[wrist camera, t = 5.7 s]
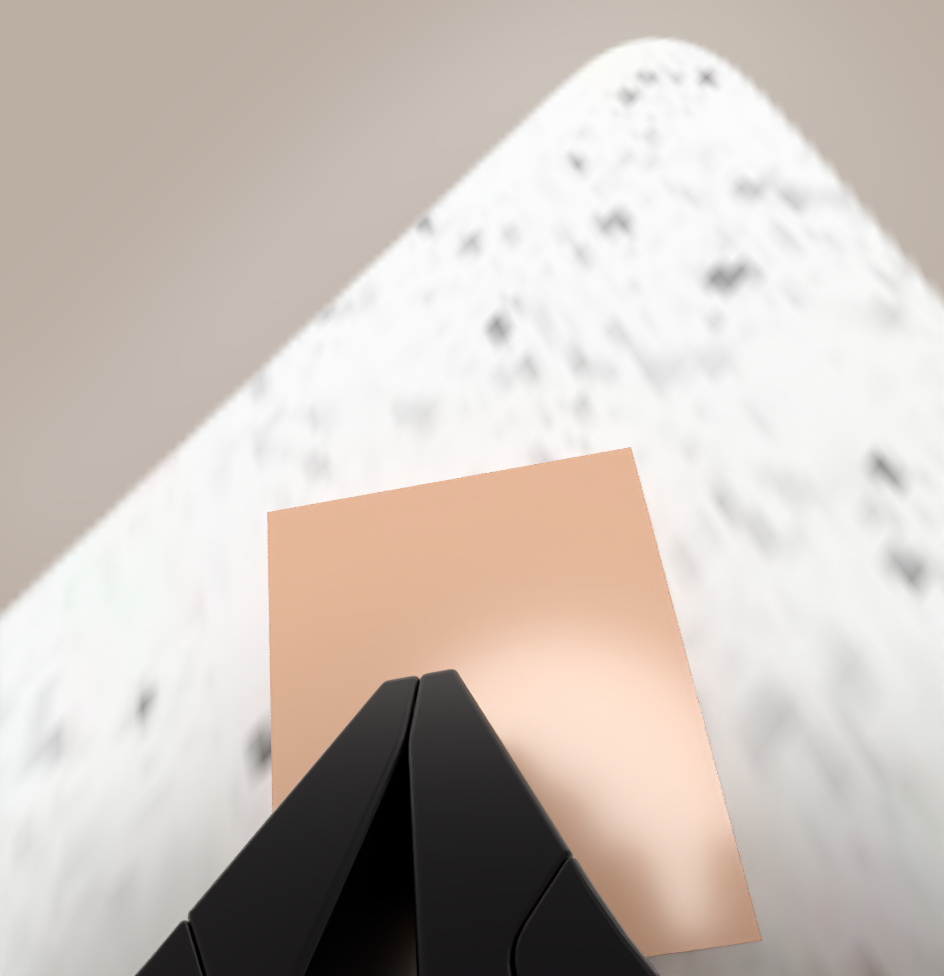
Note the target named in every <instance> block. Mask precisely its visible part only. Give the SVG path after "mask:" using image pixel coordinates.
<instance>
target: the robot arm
mask: <svg viewBox="0 0 944 976" xmlns="http://www.w3.org/2000/svg"><path fill="white" fill-rule="evenodd" d="M188 920H189V922H188V921H186V920H184V921H182V922H180V923H179V925H178V926H177V927H176V928H175V929H174V930H173V932H172V933H171V934H170V935H169V936H168V938H167V939H166V940H165V941H164V942H163V943H162V945H161V946H160V947H159V948H158V949H157V951H156V952H155V953H154V954H153V955H152V957H151V958H150V959H149V960H148V961H147V962H146V963H145V965H144V966H143V967H142V968H141V969H140V970H139V971H138V972H137V974H136V975H135V976H660V975H659V974H658V972H657V971H656V970H655V969H654V967H653V966H652V965H651V963H650V962H649V961H648V960H647V958H646V957H645V956H644V955H643V953H642V952H641V951H640V950H639V948H638V947H637V946H636V945H635V943H634V942H633V941H632V940H631V938H630V937H629V936H628V935H627V933H626V932H625V930H624V929H623V927H622V926H621V924H620V923H619V922H618V920H617V919H616V917H615V916H614V914H613V913H612V911H611V910H610V908H609V907H608V906H607V904H606V903H605V901H604V900H603V898H602V897H601V895H600V894H599V893H598V891H597V890H596V888H595V887H594V885H593V884H592V882H591V880H590V879H589V877H588V876H587V874H586V873H585V871H584V869H583V868H582V866H581V865H580V863H579V862H578V860H577V859H576V858H574V857H573V853H572V851H571V850H570V848H569V847H568V845H567V844H566V842H565V840H564V839H563V837H562V836H561V834H560V833H559V831H558V829H557V828H556V826H555V825H554V823H553V821H552V820H551V818H550V817H549V815H548V814H547V812H546V810H545V809H544V807H543V806H542V804H541V803H540V801H539V799H538V798H537V796H536V795H535V793H534V792H533V790H532V788H531V787H530V785H529V784H528V782H527V781H526V779H525V777H524V776H523V774H522V773H521V771H520V770H519V768H518V766H517V765H516V763H515V762H514V760H513V759H512V757H511V755H510V754H509V752H508V751H507V749H506V747H505V746H504V744H503V743H502V741H501V740H500V738H499V736H498V735H497V733H496V732H495V730H494V729H493V727H492V725H491V724H490V722H489V721H488V719H487V718H486V716H485V714H484V713H483V711H482V710H481V708H480V707H479V705H478V703H477V702H476V700H475V699H474V697H473V696H472V694H471V692H470V691H469V689H468V688H467V686H466V685H465V683H464V681H463V680H462V678H461V677H460V675H459V673H458V672H457V671H456V670H454V669H447V670H442V671H437V672H431V673H426V674H424V675H422V676H421V678H420V679H419V677H417V676H409V677H403V678H398V679H392V680H387V681H385V682H383V683H382V684H381V685H380V687H379V688H378V689H377V690H376V691H375V692H374V694H373V695H372V696H371V697H370V698H369V700H368V701H367V702H366V703H365V704H364V705H363V707H362V708H361V709H360V710H359V711H358V713H357V714H356V715H355V716H354V717H353V719H352V720H351V721H350V722H349V723H348V724H347V726H346V727H345V728H344V729H343V730H342V732H341V733H340V734H339V735H338V736H337V738H336V739H335V740H334V741H333V742H332V743H331V745H330V746H329V747H328V748H327V749H326V751H325V752H324V753H323V754H322V755H321V756H320V758H319V759H318V760H317V761H316V762H315V764H314V765H313V766H312V767H311V768H310V770H309V771H308V772H307V773H306V774H305V775H304V777H303V778H302V779H301V780H300V781H299V783H298V784H297V785H296V786H295V787H294V789H293V790H292V791H291V792H290V793H289V794H288V796H287V797H286V798H285V799H284V800H283V802H282V803H281V804H280V805H279V806H278V808H277V809H276V810H275V811H274V812H273V813H272V815H271V816H270V817H269V818H268V819H267V821H266V822H265V823H264V824H263V825H262V826H261V828H260V829H259V830H258V831H257V832H256V834H255V835H254V836H253V837H252V838H251V840H250V841H249V842H248V843H247V844H246V845H245V847H244V848H243V849H242V850H241V851H240V853H239V854H238V855H237V856H236V857H235V859H234V860H233V861H232V862H231V863H230V864H229V866H228V867H227V868H226V869H225V870H224V872H223V873H222V874H221V875H220V876H219V877H218V879H217V880H216V881H215V882H214V883H213V885H212V886H211V887H210V888H209V889H208V891H207V892H206V893H205V894H204V895H203V896H202V898H201V899H200V900H199V901H198V902H197V904H196V905H195V906H194V907H193V908H192V910H191V911H190V912H189V914H188Z"/></svg>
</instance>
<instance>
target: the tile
mask: <svg viewBox="0 0 944 976" xmlns="http://www.w3.org/2000/svg"><path fill="white" fill-rule="evenodd" d="M267 522H268V579H269V635H270V692H271V749H272V805H273V812H274V811H275V810H276V809H277V808H278V806H279V805H280V804H281V803H282V802H283V800H284V799H285V798H286V797H287V796H288V794H289V793H290V792H291V791H292V790H293V789H294V787H295V786H296V785H297V784H298V783H299V781H300V780H301V779H302V778H303V777H304V775H305V774H306V773H307V772H308V771H309V770H310V768H311V767H312V766H313V765H314V764H315V762H316V761H317V760H318V759H319V758H320V756H321V755H322V754H323V753H324V752H325V751H326V749H327V748H328V747H329V746H330V745H331V743H332V742H333V741H334V740H335V739H336V738H337V736H338V735H339V734H340V733H341V732H342V730H343V729H344V728H345V727H346V726H347V724H348V723H349V722H350V721H351V720H352V719H353V717H354V716H355V715H356V714H357V713H358V711H359V710H360V709H361V708H362V707H363V705H364V704H365V703H366V702H367V701H368V700H369V698H370V697H371V696H372V695H373V694H374V692H375V691H376V690H377V689H378V688H379V687H380V685H381V684H382V683H383V682H385V681H387V680H392V679H398V678H403V677H409V676H417V677H419V679H420V678H421V676H422V675H424V674H426V673H431V672H437V671H442V670H447V669H454V670H456V671H457V672H458V673H459V675H460V677H461V678H462V680H463V681H464V683H465V685H466V686H467V688H468V689H469V691H470V692H471V694H472V696H473V697H474V699H475V700H476V702H477V703H478V705H479V707H480V708H481V710H482V711H483V713H484V714H485V716H486V718H487V719H488V721H489V722H490V724H491V725H492V727H493V729H494V730H495V732H496V733H497V735H498V736H499V738H500V740H501V741H502V743H503V744H504V746H505V747H506V749H507V751H508V752H509V754H510V755H511V757H512V759H513V760H514V762H515V763H516V765H517V766H518V768H519V770H520V771H521V773H522V774H523V776H524V777H525V779H526V781H527V782H528V784H529V785H530V787H531V788H532V790H533V792H534V793H535V795H536V796H537V798H538V799H539V801H540V803H541V804H542V806H543V807H544V809H545V810H546V812H547V814H548V815H549V817H550V818H551V820H552V821H553V823H554V825H555V826H556V828H557V829H558V831H559V833H560V834H561V836H562V837H563V839H564V840H565V842H566V844H567V845H568V847H569V848H570V850H571V851H572V853H573V857H574V858H576V859H577V860H578V862H579V863H580V865H581V866H582V868H583V869H584V871H585V873H586V874H587V876H588V877H589V879H590V880H591V882H592V884H593V885H594V887H595V888H596V890H597V891H598V893H599V894H600V895H601V897H602V898H603V900H604V901H605V903H606V904H607V906H608V907H609V908H610V910H611V911H612V913H613V914H614V916H615V917H616V919H617V920H618V922H619V923H620V924H621V926H622V927H623V929H624V930H625V932H626V933H627V935H628V936H629V937H630V938H631V940H632V941H633V942H634V943H635V945H636V946H637V947H638V948H639V950H640V951H641V952H642V953H643V955H644V956H645V957H650V956H657V955H664V954H671V953H678V952H685V951H692V950H699V949H707V948H714V947H721V946H728V945H735V944H742V943H749V942H756V941H762V939H761V935H760V932H759V928H758V924H757V920H756V917H755V913H754V909H753V905H752V902H751V898H750V894H749V890H748V886H747V883H746V879H745V875H744V871H743V868H742V864H741V860H740V856H739V853H738V849H737V845H736V841H735V837H734V834H733V830H732V826H731V822H730V819H729V815H728V811H727V807H726V804H725V800H724V796H723V792H722V788H721V785H720V781H719V777H718V773H717V770H716V766H715V762H714V758H713V755H712V751H711V747H710V743H709V739H708V736H707V732H706V728H705V724H704V721H703V717H702V713H701V709H700V706H699V702H698V698H697V694H696V690H695V687H694V683H693V679H692V675H691V672H690V668H689V664H688V660H687V657H686V653H685V649H684V645H683V641H682V638H681V634H680V630H679V626H678V623H677V619H676V615H675V611H674V608H673V604H672V600H671V596H670V592H669V589H668V585H667V581H666V577H665V574H664V570H663V566H662V562H661V559H660V555H659V551H658V547H657V543H656V540H655V536H654V532H653V528H652V525H651V521H650V517H649V513H648V510H647V506H646V502H645V498H644V494H643V491H642V487H641V483H640V479H639V476H638V472H637V468H636V464H635V461H634V457H633V453H632V449H631V447H630V448H624V449H619V450H613V451H608V452H602V453H596V454H591V455H585V456H580V457H574V458H568V459H563V460H557V461H552V462H546V463H540V464H535V465H529V466H524V467H518V468H512V469H507V470H501V471H496V472H490V473H485V474H479V475H473V476H468V477H462V478H457V479H451V480H445V481H440V482H434V483H429V484H423V485H417V486H412V487H406V488H401V489H395V490H389V491H384V492H378V493H373V494H367V495H361V496H356V497H350V498H345V499H339V500H333V501H328V502H322V503H317V504H311V505H305V506H300V507H294V508H289V509H283V510H277V511H272V512H267Z"/></svg>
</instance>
